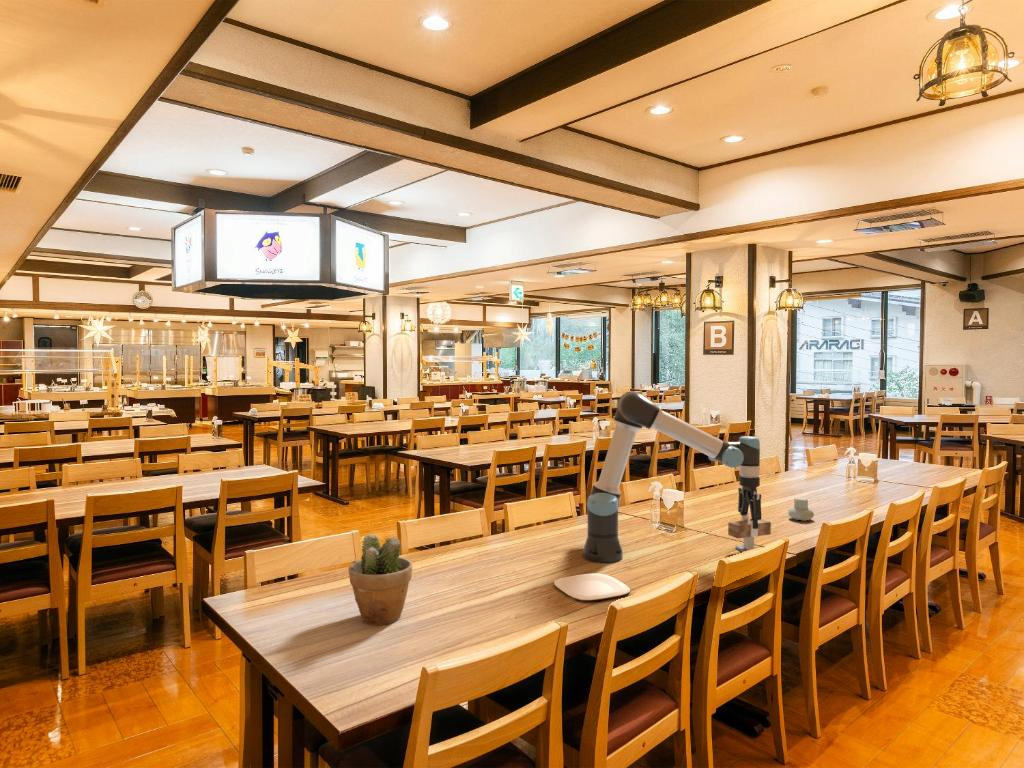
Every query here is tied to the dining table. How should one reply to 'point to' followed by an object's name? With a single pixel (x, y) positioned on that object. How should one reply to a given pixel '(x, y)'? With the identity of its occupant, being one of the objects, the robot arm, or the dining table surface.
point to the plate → (591, 587)
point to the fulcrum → (746, 544)
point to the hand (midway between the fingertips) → (749, 533)
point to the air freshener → (801, 510)
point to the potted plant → (380, 581)
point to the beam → (748, 528)
